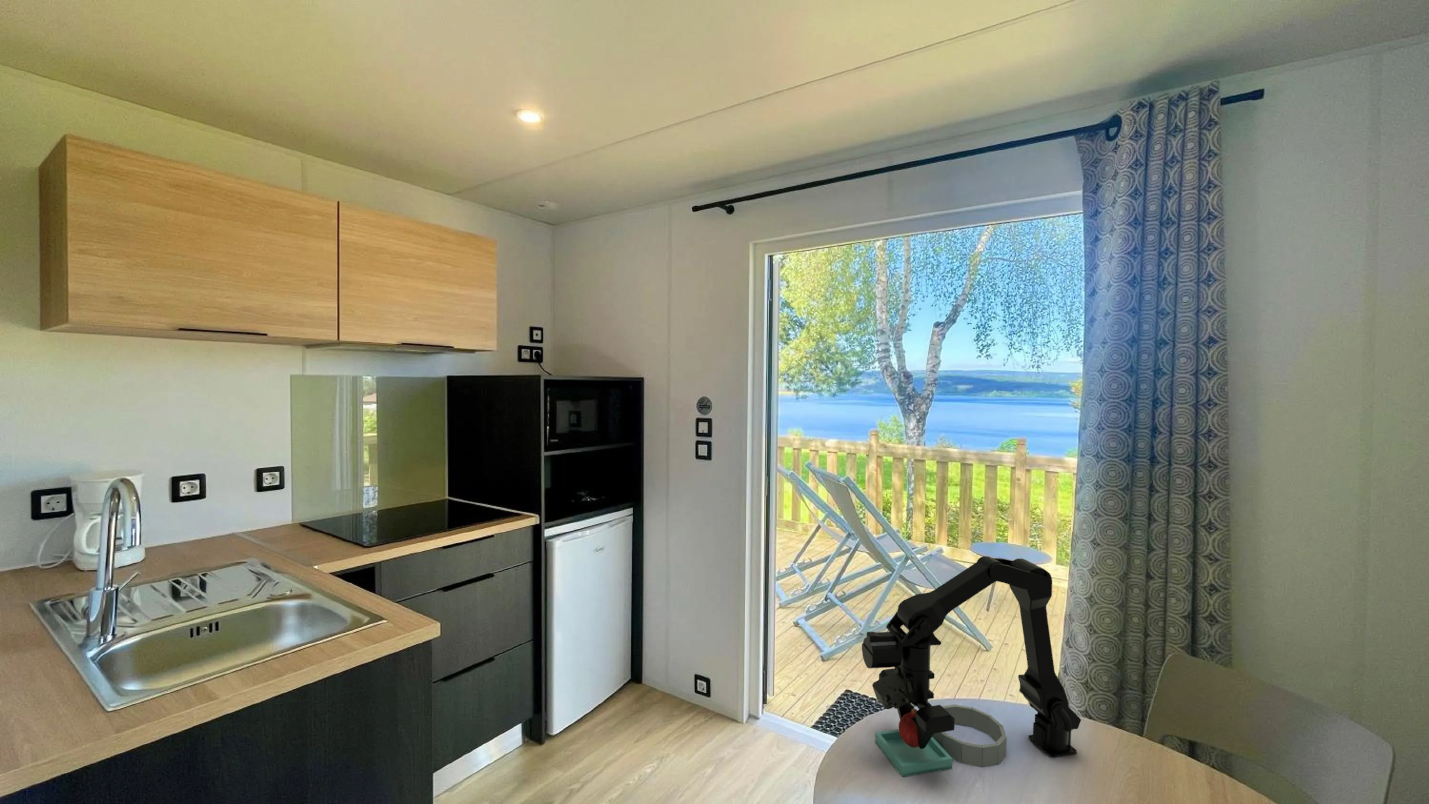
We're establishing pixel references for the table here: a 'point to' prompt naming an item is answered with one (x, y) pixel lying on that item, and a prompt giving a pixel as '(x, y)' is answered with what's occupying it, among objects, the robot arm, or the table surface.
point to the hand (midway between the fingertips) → (913, 738)
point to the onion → (909, 729)
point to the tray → (912, 754)
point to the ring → (970, 751)
